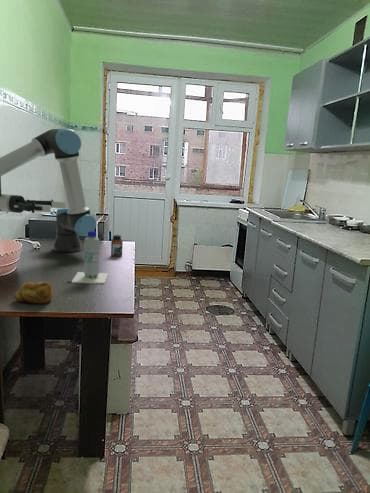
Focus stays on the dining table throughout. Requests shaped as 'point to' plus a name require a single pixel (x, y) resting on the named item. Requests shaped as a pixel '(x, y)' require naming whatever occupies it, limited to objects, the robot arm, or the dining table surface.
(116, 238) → the supplement bottle
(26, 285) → the bread roll
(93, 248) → the bottle
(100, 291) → the dining table surface
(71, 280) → the mat
